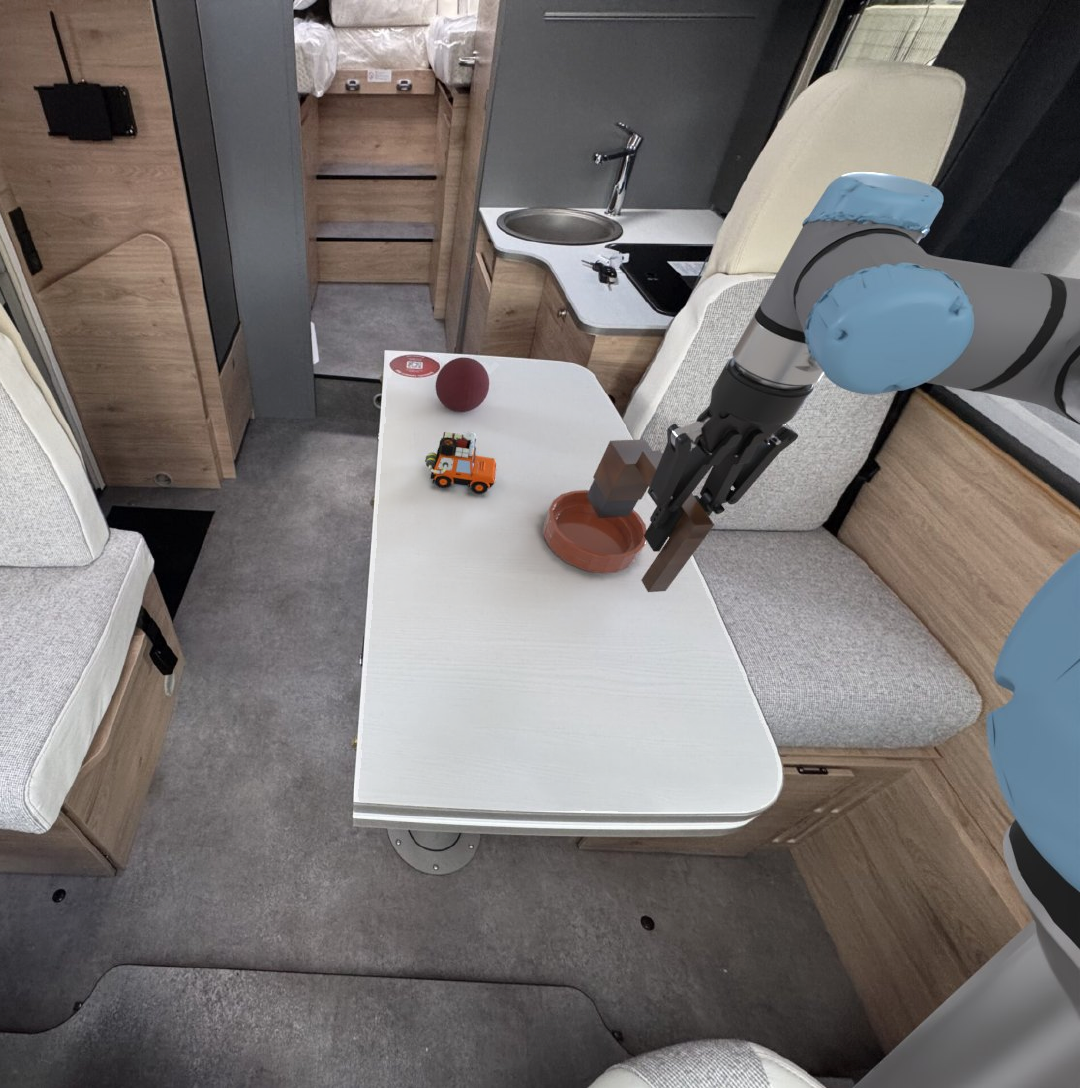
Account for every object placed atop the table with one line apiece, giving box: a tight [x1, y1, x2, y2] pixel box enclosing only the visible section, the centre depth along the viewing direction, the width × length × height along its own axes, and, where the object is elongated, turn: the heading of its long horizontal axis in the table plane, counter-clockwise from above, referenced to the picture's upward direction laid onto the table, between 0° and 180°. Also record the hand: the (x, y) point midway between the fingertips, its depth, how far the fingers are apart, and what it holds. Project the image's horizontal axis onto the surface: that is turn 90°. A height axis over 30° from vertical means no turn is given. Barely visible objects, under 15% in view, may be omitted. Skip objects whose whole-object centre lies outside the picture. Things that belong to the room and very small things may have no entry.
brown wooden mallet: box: [587, 438, 715, 593], centre depth 74 cm, size 18×5×12 cm, turn 6°
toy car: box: [424, 431, 498, 495], centre depth 94 cm, size 7×12×9 cm, turn 80°
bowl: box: [542, 489, 648, 574], centre depth 87 cm, size 14×14×4 cm
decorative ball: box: [435, 356, 490, 413], centre depth 108 cm, size 10×10×10 cm
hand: (663, 542), depth 71 cm, fingers closed on brown wooden mallet, 2 cm apart
